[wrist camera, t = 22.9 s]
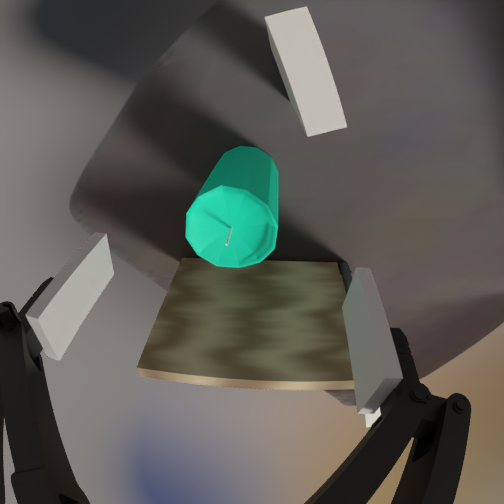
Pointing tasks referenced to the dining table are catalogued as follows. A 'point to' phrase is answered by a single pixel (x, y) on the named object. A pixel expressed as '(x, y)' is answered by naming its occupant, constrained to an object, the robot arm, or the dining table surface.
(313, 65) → the door frame
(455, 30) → the dining table surface
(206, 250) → the candle
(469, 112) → the dining table surface
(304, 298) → the door
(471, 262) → the dining table surface
